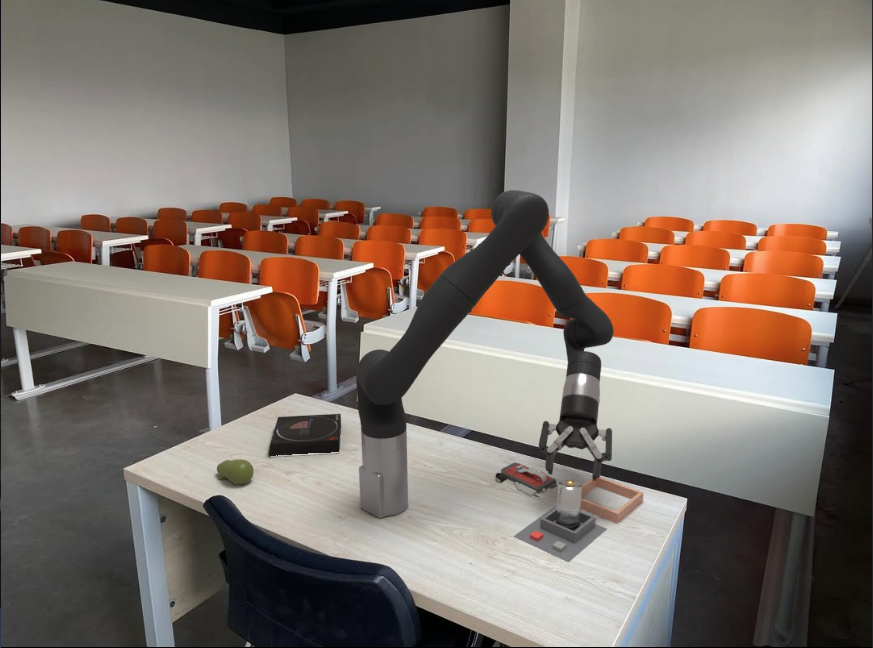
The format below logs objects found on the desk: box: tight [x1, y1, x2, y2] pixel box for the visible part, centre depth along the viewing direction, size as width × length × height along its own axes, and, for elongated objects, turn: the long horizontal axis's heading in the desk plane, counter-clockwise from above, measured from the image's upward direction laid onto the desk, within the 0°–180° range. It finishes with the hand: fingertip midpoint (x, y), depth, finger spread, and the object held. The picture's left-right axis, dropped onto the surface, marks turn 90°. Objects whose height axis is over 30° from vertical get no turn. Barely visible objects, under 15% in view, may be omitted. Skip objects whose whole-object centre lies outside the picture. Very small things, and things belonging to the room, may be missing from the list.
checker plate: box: [512, 506, 608, 563], centre depth 126 cm, size 14×12×4 cm
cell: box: [556, 478, 583, 531], centre depth 127 cm, size 4×4×10 cm
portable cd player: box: [267, 413, 342, 457], centre depth 169 cm, size 16×17×4 cm
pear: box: [216, 458, 255, 486], centre depth 150 cm, size 6×5×10 cm
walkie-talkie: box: [495, 462, 558, 498], centre depth 143 cm, size 9×4×20 cm
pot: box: [580, 476, 644, 524], centre depth 136 cm, size 11×11×4 cm
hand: (572, 476), depth 129 cm, fingers open, 8 cm apart
